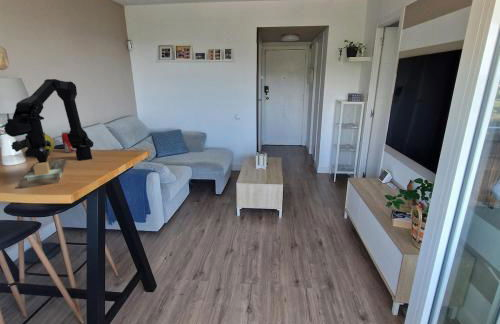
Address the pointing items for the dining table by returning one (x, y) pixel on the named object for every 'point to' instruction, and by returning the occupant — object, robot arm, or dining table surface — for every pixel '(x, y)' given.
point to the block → (41, 168)
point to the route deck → (44, 179)
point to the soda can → (67, 143)
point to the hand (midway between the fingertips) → (43, 167)
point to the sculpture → (51, 143)
